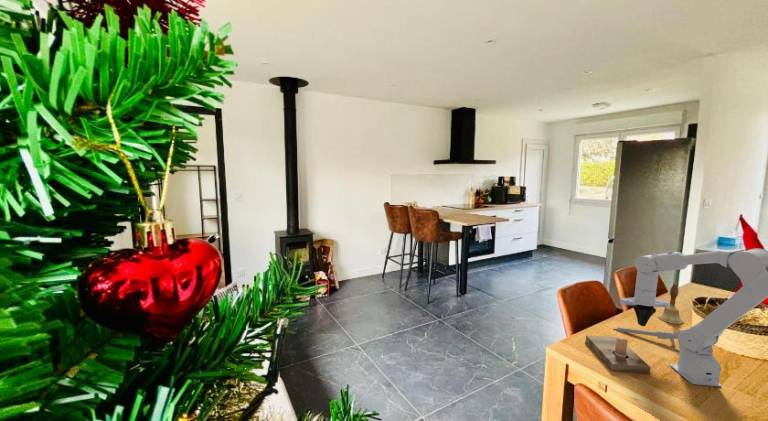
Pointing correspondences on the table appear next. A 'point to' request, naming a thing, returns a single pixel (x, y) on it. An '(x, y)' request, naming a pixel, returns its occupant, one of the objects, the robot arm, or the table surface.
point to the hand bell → (672, 309)
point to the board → (607, 353)
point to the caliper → (652, 333)
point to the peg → (621, 347)
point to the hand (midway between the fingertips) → (641, 324)
